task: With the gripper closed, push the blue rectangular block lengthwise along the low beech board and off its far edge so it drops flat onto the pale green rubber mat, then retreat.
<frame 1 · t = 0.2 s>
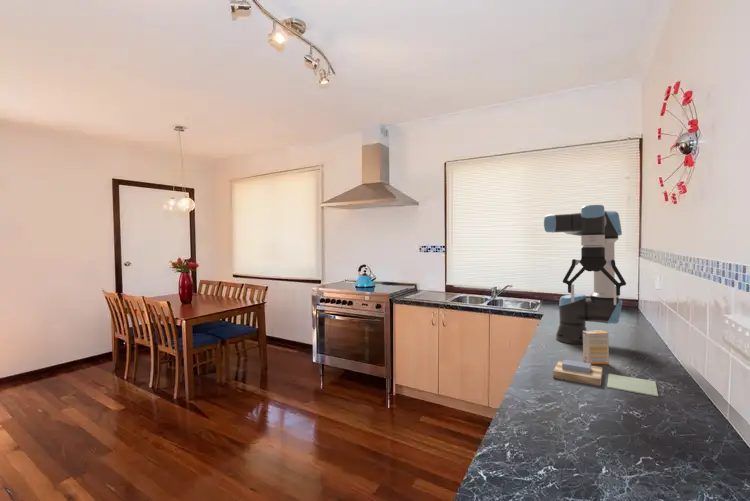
hand: (593, 303, 134), 28 cm above the table, fingers open, 13 cm apart
mat: (631, 384, 126), on the table
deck: (578, 375, 136), on the table
blue rectangular block: (576, 368, 136), point 2 cm above the table, touching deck
supplement box: (595, 363, 149), on the table
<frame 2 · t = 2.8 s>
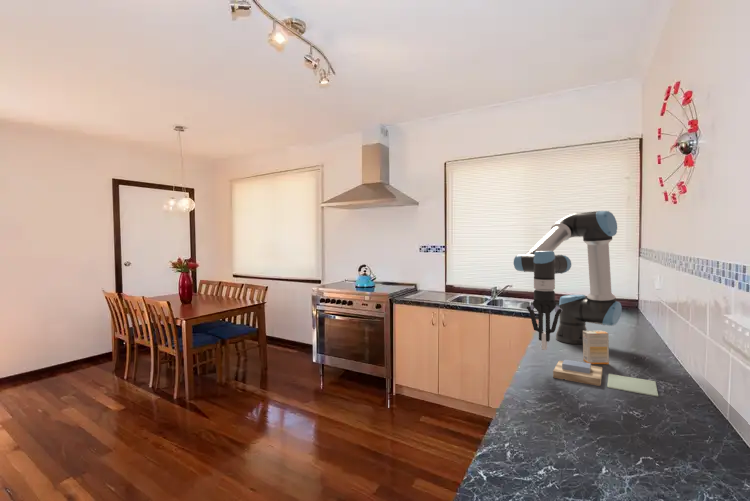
hand: (544, 349, 142), 8 cm above the table, fingers closed
nothing on the table moved.
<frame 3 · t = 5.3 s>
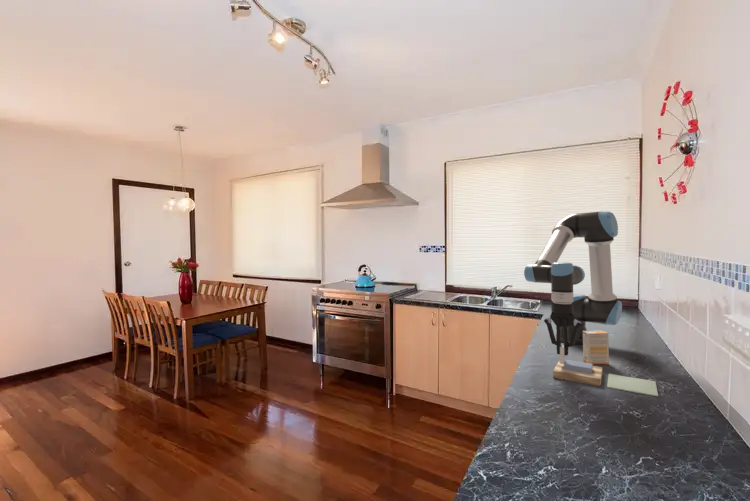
hand: (562, 362, 139), 4 cm above the table, fingers closed
blue rectangular block: (578, 369, 136), point 3 cm above the table, touching gripper
everything else where it was.
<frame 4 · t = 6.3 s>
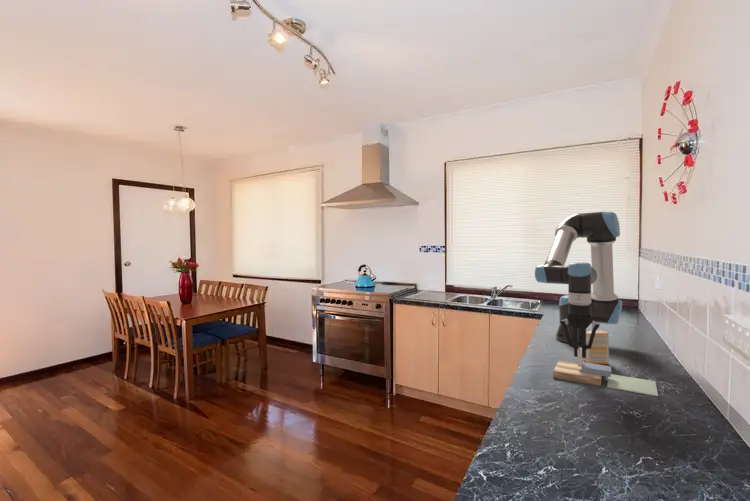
hand: (580, 365, 135), 4 cm above the table, fingers closed
blue rectangular block: (596, 372, 132), point 3 cm above the table, touching gripper
everything else where it was.
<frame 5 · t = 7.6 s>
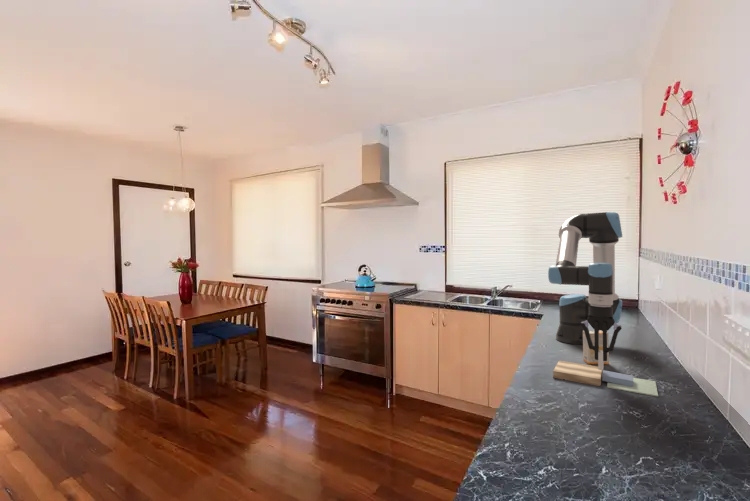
hand: (600, 368, 131), 4 cm above the table, fingers closed
blue rectangular block: (617, 380, 129), point 1 cm above the table
everything else where it was.
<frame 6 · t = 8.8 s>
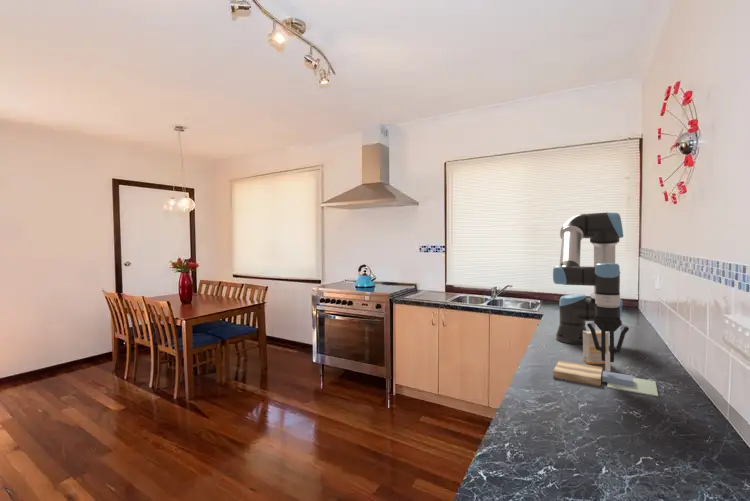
hand: (607, 370, 130), 4 cm above the table, fingers closed
blue rectangular block: (617, 381, 128), resting on mat
everything else where it was.
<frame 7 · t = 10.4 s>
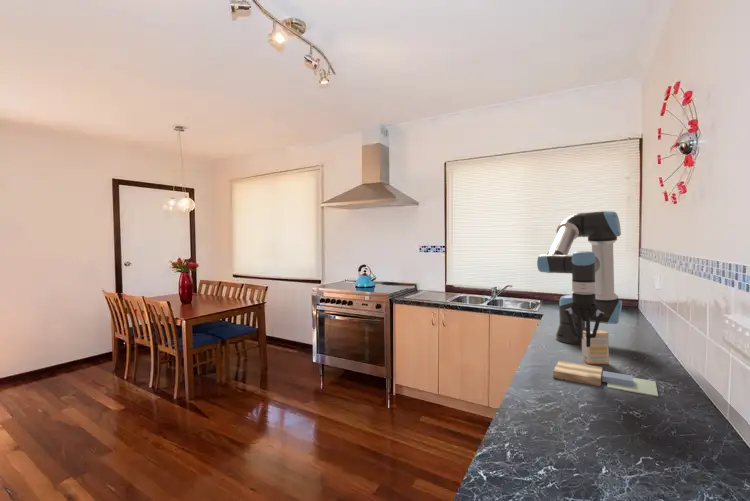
hand: (584, 354, 135), 8 cm above the table, fingers closed
nothing on the table moved.
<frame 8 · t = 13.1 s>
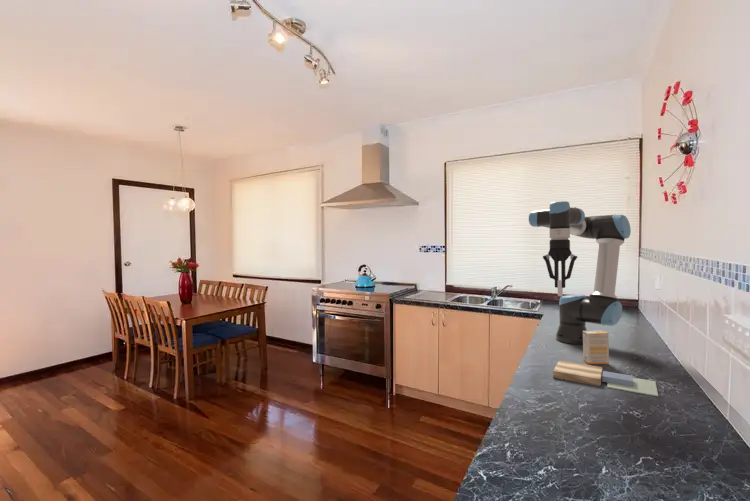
hand: (560, 295, 149), 28 cm above the table, fingers closed
nothing on the table moved.
at the end: blue rectangular block resting on mat; blue rectangular block inside the target area on the mat (4.1 cm from its centre), point 0.4 cm above the mat's base; blue rectangular block tilted 0° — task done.
